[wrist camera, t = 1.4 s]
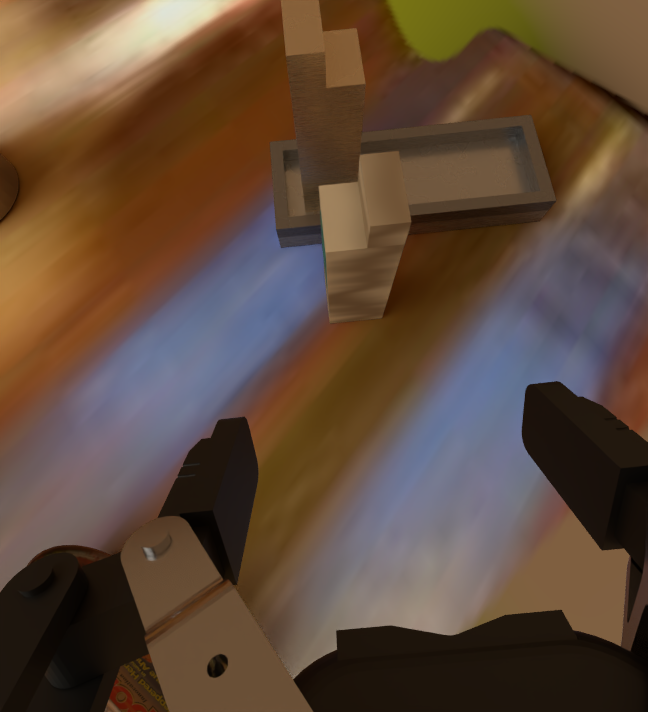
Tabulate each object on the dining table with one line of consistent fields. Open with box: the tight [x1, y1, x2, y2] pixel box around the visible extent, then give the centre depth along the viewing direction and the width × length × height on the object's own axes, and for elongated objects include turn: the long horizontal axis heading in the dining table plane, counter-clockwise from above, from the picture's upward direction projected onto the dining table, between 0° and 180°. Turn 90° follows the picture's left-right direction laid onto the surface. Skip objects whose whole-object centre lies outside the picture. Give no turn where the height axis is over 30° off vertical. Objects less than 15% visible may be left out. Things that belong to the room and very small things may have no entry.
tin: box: [27, 545, 169, 712], centre depth 22 cm, size 15×3×8 cm, turn 52°
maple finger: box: [319, 151, 411, 323], centre depth 26 cm, size 4×4×13 cm
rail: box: [270, 0, 556, 248], centre depth 28 cm, size 22×8×14 cm, turn 96°
